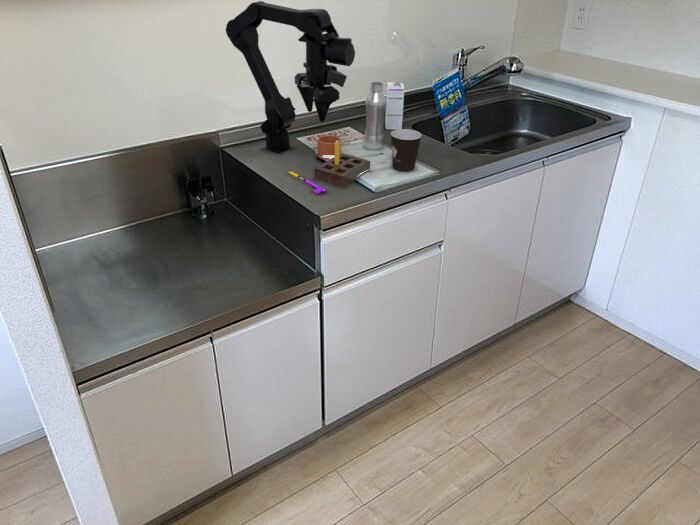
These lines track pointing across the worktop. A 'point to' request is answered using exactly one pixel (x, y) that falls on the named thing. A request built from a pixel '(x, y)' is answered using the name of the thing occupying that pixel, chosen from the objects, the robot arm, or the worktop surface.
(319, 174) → the pencil block
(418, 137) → the coffee mug
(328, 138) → the pen pot
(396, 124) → the syrup box
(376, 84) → the silver metal bottle
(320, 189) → the purple long piece
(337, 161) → the pencil
